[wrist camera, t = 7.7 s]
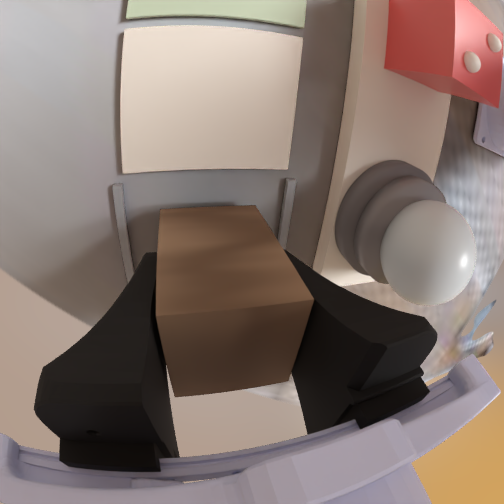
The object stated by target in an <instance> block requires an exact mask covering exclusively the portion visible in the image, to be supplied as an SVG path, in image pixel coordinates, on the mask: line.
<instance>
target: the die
mask: <svg viewBox="0 0 504 504" xmlns="http://www.w3.org/2000/svg"><path fill="white" fill-rule="evenodd" d="M502 66H503V33H502V32H501V31H500V30H499V29H498V28H497V27H496V26H495V25H494V24H493V23H492V22H491V21H490V20H489V19H488V18H487V17H486V16H485V15H484V14H483V13H482V12H481V11H480V10H479V9H477V8H476V7H475V6H474V5H473V4H472V3H471V2H470V1H469V0H389V13H388V30H387V43H386V54H385V64H384V69H387V70H389V71H392V72H395V73H397V74H400V75H402V76H405V77H407V78H409V79H412V80H414V81H416V82H419V83H421V84H423V85H425V86H427V87H429V88H432V89H434V90H436V91H438V92H442V93H446V94H450V95H454V96H458V97H462V98H466V99H469V100H473V101H476V102H479V103H483V104H486V105H489V106H492V107H495V108H499V101H500V92H501V81H502Z"/></svg>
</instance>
